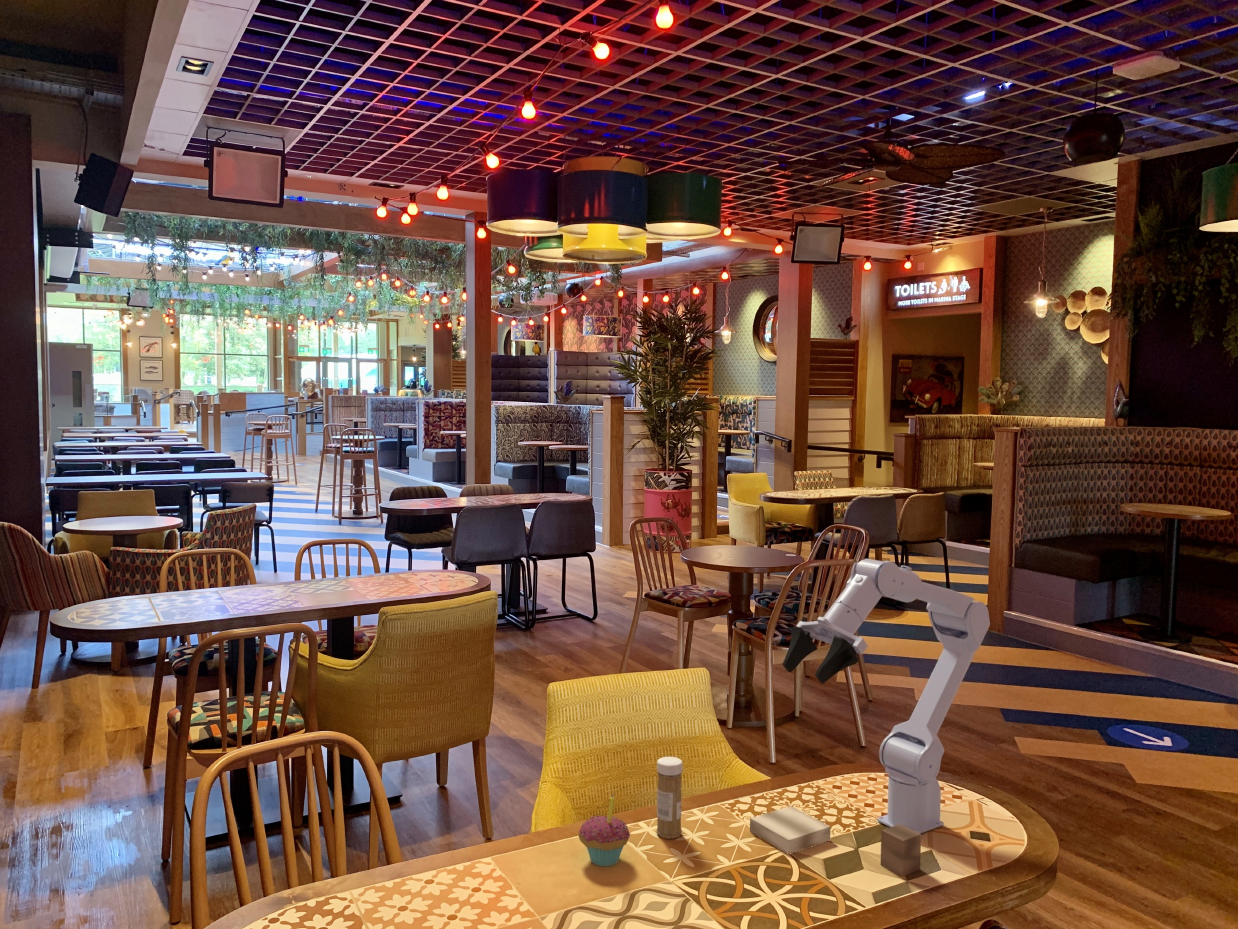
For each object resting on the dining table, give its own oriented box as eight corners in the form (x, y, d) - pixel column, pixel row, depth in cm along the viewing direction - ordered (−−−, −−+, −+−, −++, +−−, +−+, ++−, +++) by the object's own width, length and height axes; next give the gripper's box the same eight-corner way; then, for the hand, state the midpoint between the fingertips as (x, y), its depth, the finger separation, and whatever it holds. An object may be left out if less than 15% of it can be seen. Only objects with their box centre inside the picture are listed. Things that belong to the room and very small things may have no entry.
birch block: (790, 821, 169) (790, 806, 169) (829, 843, 161) (830, 826, 161) (749, 834, 164) (750, 818, 164) (788, 857, 155) (788, 840, 155)
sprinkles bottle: (686, 836, 162) (687, 762, 161) (666, 842, 159) (667, 767, 159) (671, 826, 166) (672, 754, 165) (650, 832, 163) (652, 758, 162)
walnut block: (898, 858, 155) (899, 824, 154) (920, 869, 151) (921, 834, 151) (880, 865, 152) (881, 830, 152) (902, 876, 148) (903, 841, 148)
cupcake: (639, 860, 153) (640, 790, 152) (604, 878, 147) (605, 805, 146) (602, 843, 159) (603, 776, 158) (567, 860, 152) (568, 790, 152)
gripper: (806, 591, 160) (761, 648, 155) (869, 606, 148) (823, 668, 143) (824, 618, 163) (780, 675, 158) (887, 634, 151) (843, 697, 146)
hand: (802, 673), depth 151 cm, fingers open, 7 cm apart
